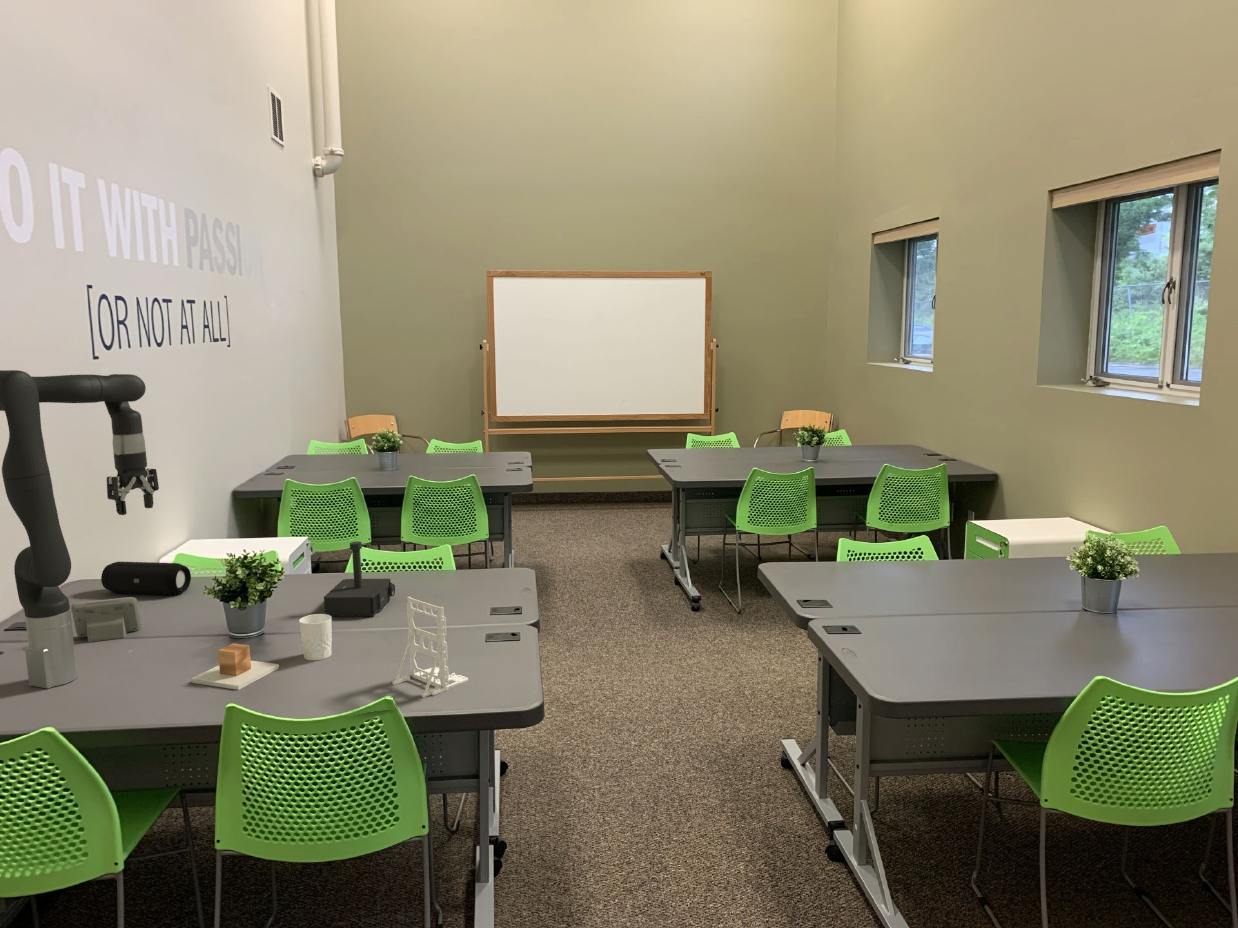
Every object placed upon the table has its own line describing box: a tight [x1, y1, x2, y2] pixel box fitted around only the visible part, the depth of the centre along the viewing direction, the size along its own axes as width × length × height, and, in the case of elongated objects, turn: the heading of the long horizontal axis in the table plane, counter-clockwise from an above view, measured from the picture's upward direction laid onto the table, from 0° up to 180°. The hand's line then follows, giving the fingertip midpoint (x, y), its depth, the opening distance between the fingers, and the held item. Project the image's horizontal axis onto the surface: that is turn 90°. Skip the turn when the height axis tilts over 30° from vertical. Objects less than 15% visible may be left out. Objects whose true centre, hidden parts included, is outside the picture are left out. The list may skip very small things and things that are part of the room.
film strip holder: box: [391, 596, 469, 698], centre depth 218 cm, size 14×14×20 cm
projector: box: [323, 541, 396, 618], centre depth 276 cm, size 19×17×20 cm
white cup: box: [298, 613, 333, 662], centre depth 237 cm, size 8×8×10 cm
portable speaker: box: [100, 561, 192, 596], centre depth 294 cm, size 26×10×10 cm, turn 82°
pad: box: [191, 660, 280, 690], centre depth 225 cm, size 14×14×1 cm
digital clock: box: [70, 596, 142, 643], centre depth 254 cm, size 16×9×11 cm, turn 99°
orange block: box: [217, 643, 252, 676], centre depth 225 cm, size 5×5×6 cm
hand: (135, 511), depth 244 cm, fingers open, 8 cm apart
